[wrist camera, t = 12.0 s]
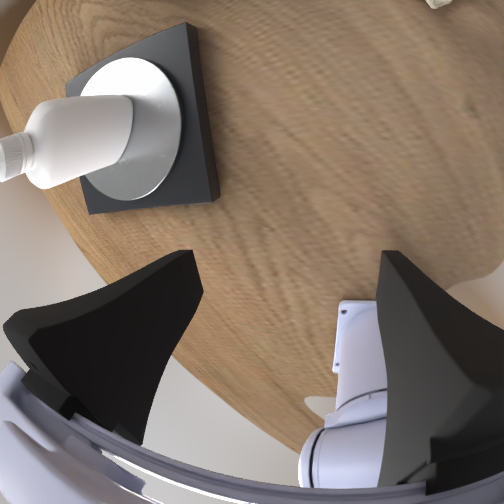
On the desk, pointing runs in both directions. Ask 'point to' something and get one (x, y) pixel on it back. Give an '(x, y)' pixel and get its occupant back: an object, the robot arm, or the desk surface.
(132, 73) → the scale pan
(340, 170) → the desk surface
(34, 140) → the eye dropper bottle
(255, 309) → the desk surface
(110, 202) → the scale
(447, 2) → the bracelet
